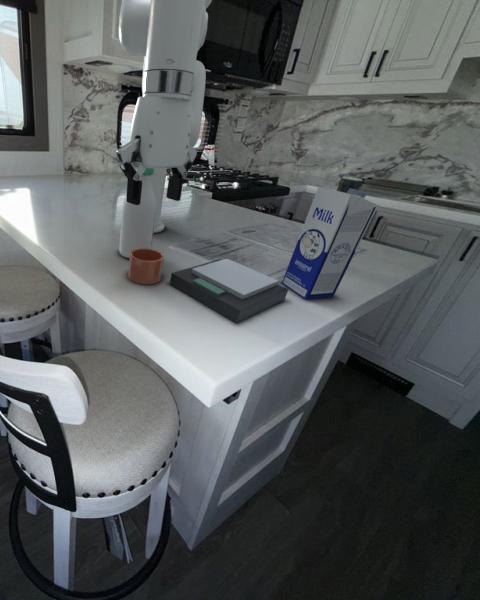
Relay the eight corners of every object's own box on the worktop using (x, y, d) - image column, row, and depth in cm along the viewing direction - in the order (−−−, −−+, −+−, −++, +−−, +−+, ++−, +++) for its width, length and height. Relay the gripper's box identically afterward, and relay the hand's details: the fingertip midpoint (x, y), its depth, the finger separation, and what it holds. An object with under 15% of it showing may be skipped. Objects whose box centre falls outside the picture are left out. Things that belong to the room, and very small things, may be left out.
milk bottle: (148, 262, 71) (160, 169, 61) (116, 257, 72) (122, 166, 62) (151, 250, 78) (162, 165, 67) (122, 246, 79) (128, 162, 68)
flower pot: (122, 273, 65) (123, 251, 62) (146, 267, 68) (149, 246, 66) (142, 287, 60) (144, 264, 58) (167, 279, 64) (171, 257, 61)
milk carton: (280, 283, 65) (318, 184, 55) (307, 281, 67) (348, 185, 56) (305, 299, 59) (352, 193, 49) (334, 297, 61) (385, 193, 50)
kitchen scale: (169, 283, 62) (172, 268, 60) (217, 269, 70) (220, 254, 68) (236, 323, 51) (241, 305, 49) (284, 300, 59) (290, 284, 57)
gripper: (188, 95, 55) (173, 194, 63) (107, 83, 46) (103, 200, 54) (222, 93, 49) (201, 202, 58) (139, 79, 40) (128, 210, 49)
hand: (153, 201), depth 56 cm, fingers open, 9 cm apart
